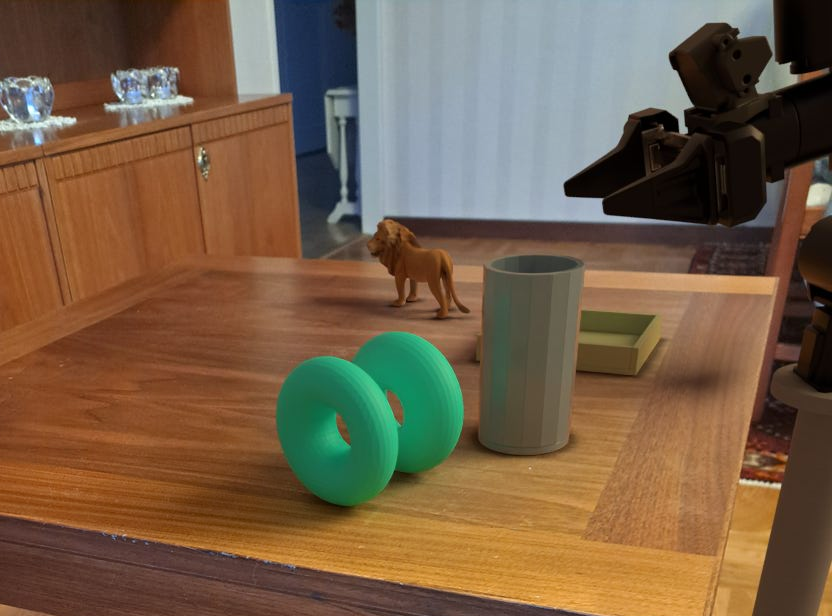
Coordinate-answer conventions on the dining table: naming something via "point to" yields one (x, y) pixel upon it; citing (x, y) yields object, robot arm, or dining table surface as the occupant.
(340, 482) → the donuts
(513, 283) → the cup
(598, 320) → the tray
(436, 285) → the lion figurine
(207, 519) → the dining table surface
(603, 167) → the robot arm
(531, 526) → the dining table surface
